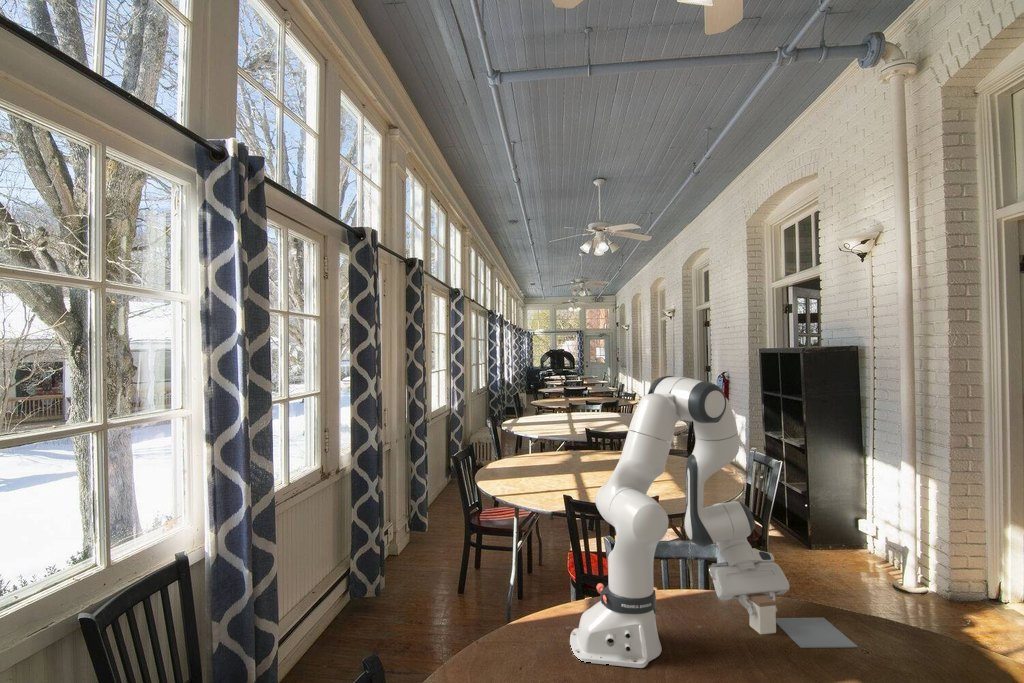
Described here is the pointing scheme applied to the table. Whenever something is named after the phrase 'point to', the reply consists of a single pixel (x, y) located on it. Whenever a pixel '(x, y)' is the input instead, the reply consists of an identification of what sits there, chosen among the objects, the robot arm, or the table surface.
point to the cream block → (763, 614)
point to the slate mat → (814, 633)
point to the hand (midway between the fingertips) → (763, 613)
